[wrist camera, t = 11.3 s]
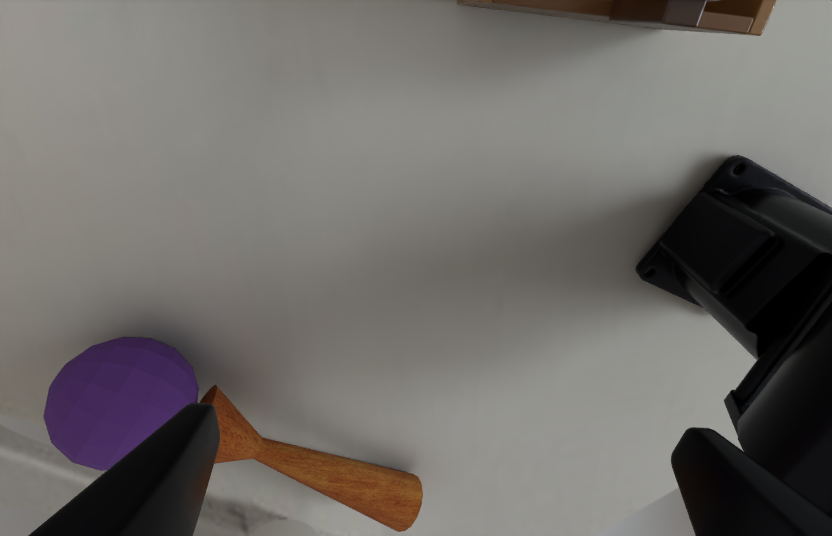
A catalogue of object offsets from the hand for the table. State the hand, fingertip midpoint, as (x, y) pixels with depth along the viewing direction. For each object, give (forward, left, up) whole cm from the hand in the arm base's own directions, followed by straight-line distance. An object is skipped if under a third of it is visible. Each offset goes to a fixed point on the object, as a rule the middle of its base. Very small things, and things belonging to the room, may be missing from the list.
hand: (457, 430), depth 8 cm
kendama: (+2, +16, -13) cm, 21 cm away
